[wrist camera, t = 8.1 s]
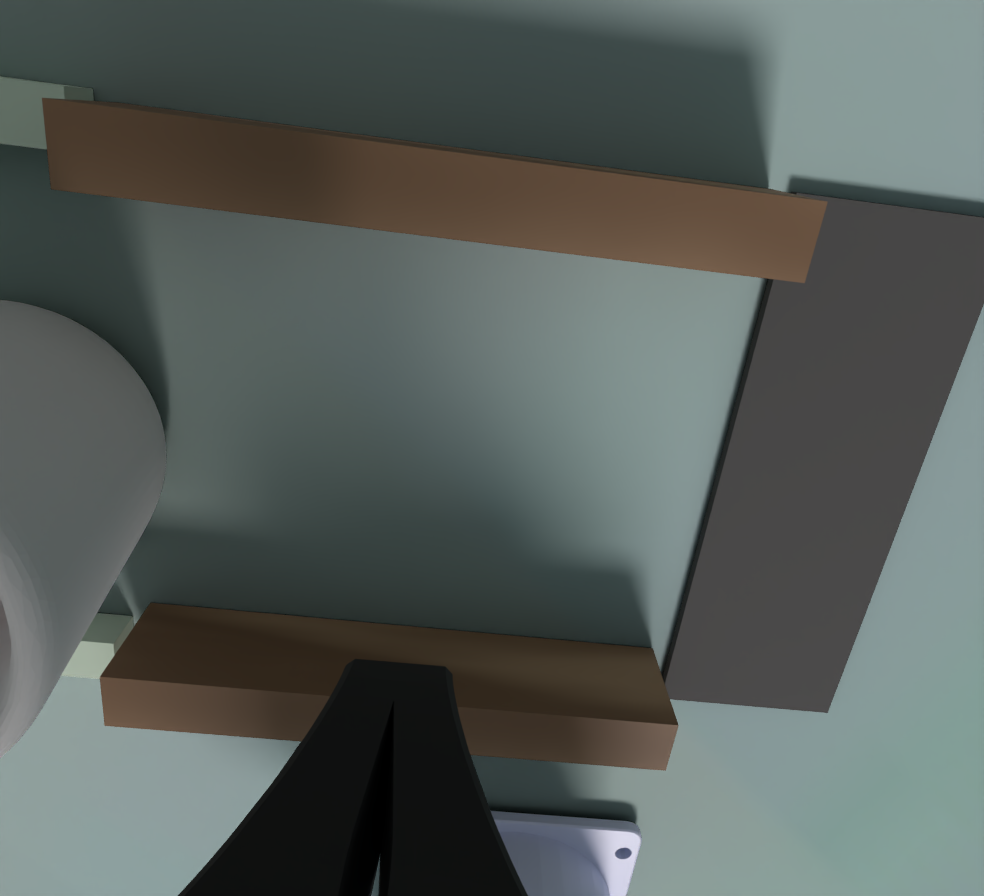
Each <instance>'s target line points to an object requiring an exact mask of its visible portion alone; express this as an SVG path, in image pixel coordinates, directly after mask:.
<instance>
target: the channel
mask: <svg viewBox="0 0 984 896" xmlns="http://www.w3.org/2000/svg"><path fill="white" fill-rule="evenodd" d="M42 105H43V115H44V125H45V135H46V145H47V155H48V165H49V175H50V185H51V189H53V190H61V191H69V192H77V193H85V194H93V195H101V196H109V197H117V198H125V199H133V200H141V201H149V202H157V203H165V204H173V205H181V206H189V207H197V208H205V209H213V210H221V211H229V212H238V213H246V214H254V215H262V216H270V217H278V218H286V219H294V220H302V221H310V222H318V223H326V224H334V225H342V226H350V227H358V228H366V229H374V230H382V231H390V232H398V233H406V234H414V235H422V236H430V237H438V238H446V239H454V240H462V241H470V242H478V243H486V244H494V245H502V246H510V247H518V248H526V249H534V250H543V251H551V252H559V253H567V254H575V255H583V256H591V257H599V258H607V259H615V260H623V261H631V262H639V263H647V264H655V265H663V266H671V267H679V268H687V269H695V270H703V271H711V272H719V273H727V274H735V275H743V276H751V277H759V278H767V279H775V280H783V281H791V282H799V283H805V280H806V277H807V273H808V270H809V266H810V263H811V259H812V256H813V252H814V248H815V245H816V241H817V238H818V234H819V231H820V227H821V224H822V220H823V217H824V213H825V210H826V206H827V203H828V202H827V201H823V200H818V199H814V198H809V197H804V196H800V195H795V194H791V193H786V192H782V191H777V190H772V189H767V188H759V187H752V186H744V185H736V184H729V183H721V182H714V181H706V180H699V179H691V178H684V177H676V176H669V175H661V174H654V173H646V172H638V171H631V170H623V169H616V168H608V167H601V166H593V165H586V164H578V163H571V162H563V161H556V160H548V159H540V158H533V157H525V156H518V155H510V154H503V153H495V152H488V151H480V150H473V149H465V148H457V147H450V146H442V145H435V144H427V143H420V142H412V141H405V140H397V139H390V138H382V137H375V136H367V135H359V134H352V133H344V132H337V131H329V130H322V129H314V128H307V127H299V126H292V125H284V124H277V123H269V122H261V121H254V120H246V119H239V118H231V117H224V116H216V115H209V114H201V113H194V112H186V111H178V110H171V109H163V108H156V107H148V106H141V105H133V104H126V103H118V102H102V101H86V100H70V99H54V98H42ZM354 659H364V660H376V661H388V662H400V663H412V664H424V665H435V666H446V668H447V669H448V670H449V671H450V672H451V673H452V674H453V686H454V692H455V698H456V703H457V708H458V712H459V716H460V721H461V724H462V728H463V731H464V735H465V739H466V742H467V746H468V749H469V752H470V755H478V756H490V757H503V758H515V759H528V760H540V761H553V762H565V763H578V764H590V765H603V766H615V767H628V768H640V769H653V770H665V771H666V767H667V764H668V760H669V757H670V753H671V750H672V746H673V743H674V739H675V736H676V732H677V729H678V722H677V719H676V717H675V714H674V711H673V708H672V705H671V702H670V699H669V696H668V693H667V690H666V687H665V684H664V681H663V678H662V675H661V672H660V669H659V666H658V663H657V660H656V657H655V654H654V651H653V648H644V647H633V646H622V645H611V644H600V643H589V642H578V641H567V640H556V639H545V638H534V637H523V636H512V635H501V634H490V633H479V632H468V631H457V630H446V629H435V628H424V627H413V626H402V625H391V624H380V623H368V622H357V621H346V620H335V619H324V618H313V617H302V616H291V615H280V614H269V613H258V612H247V611H236V610H225V609H214V608H203V607H192V606H181V605H170V604H159V603H150V604H149V606H148V607H147V608H146V610H145V611H144V613H143V614H142V616H141V617H140V619H139V620H138V622H137V623H136V625H135V626H134V627H133V629H132V630H131V632H130V633H129V635H128V636H127V638H126V639H125V641H124V642H123V644H122V645H121V647H120V648H119V649H118V651H117V652H116V654H115V655H114V657H113V658H112V660H111V661H110V663H109V664H108V666H107V667H106V668H105V670H104V671H103V673H102V674H101V676H100V684H101V694H102V704H103V714H104V724H105V726H115V727H128V728H140V729H153V730H165V731H178V732H190V733H203V734H215V735H228V736H240V737H253V738H265V739H278V740H290V741H302V740H303V739H304V737H305V736H306V734H307V733H308V731H309V730H310V728H311V727H312V725H313V724H314V722H315V720H316V719H317V717H318V716H319V714H320V712H321V711H322V709H323V708H324V706H325V704H326V703H327V701H328V699H329V697H330V696H331V694H332V692H333V690H334V689H335V687H336V685H337V683H338V681H339V679H340V677H341V675H342V673H343V671H344V668H345V666H346V665H347V664H348V663H350V662H351V661H352V660H354Z"/></svg>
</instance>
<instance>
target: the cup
mask: <svg viewBox="0 0 984 896" xmlns="http://www.w3.org/2000/svg"><path fill="white" fill-rule="evenodd" d="M166 459H167V453H166V440H165V435H164V429H163V425H162V421H161V417H160V415H159V412H158V409H157V407H156V404H155V402H154V400H153V398H152V396H151V394H150V392H149V390H148V389H147V387H146V385H145V384H144V382H143V381H142V379H141V378H140V377H139V375H138V374H137V372H136V371H135V370H134V368H133V367H132V366H131V365H130V364H129V363H128V362H127V360H126V359H125V358H124V357H123V356H122V355H121V354H120V353H119V352H118V351H117V350H115V349H114V348H113V347H112V346H111V345H110V344H109V343H107V342H106V341H105V340H104V339H102V338H101V337H99V336H98V335H97V334H95V333H94V332H92V331H91V330H89V329H87V328H86V327H84V326H82V325H81V324H79V323H77V322H75V321H73V320H71V319H69V318H67V317H65V316H63V315H60V314H58V313H55V312H53V311H50V310H47V309H43V308H40V307H37V306H33V305H29V304H25V303H20V302H14V301H7V300H0V758H1V757H2V756H3V755H5V754H6V753H7V752H8V751H9V750H10V749H11V748H12V747H13V746H14V745H15V744H16V743H17V742H18V741H19V740H20V738H21V737H22V736H23V735H24V733H25V732H26V731H27V730H28V728H29V727H30V726H31V725H32V723H33V722H34V720H35V719H36V717H37V716H38V714H39V713H40V711H41V709H42V708H43V706H44V704H45V703H46V701H47V699H48V697H49V696H50V694H51V692H52V690H53V689H54V687H55V685H56V683H57V682H58V680H59V678H60V676H61V675H62V673H63V671H64V669H65V668H66V666H67V664H68V663H69V661H70V659H71V657H72V656H73V654H74V652H75V650H76V649H77V647H78V645H79V643H80V642H81V640H82V638H83V636H84V635H85V633H86V631H87V629H88V628H89V626H90V624H91V622H92V621H93V619H94V617H95V616H96V614H97V612H98V610H99V609H100V607H101V605H102V603H103V602H104V600H105V598H106V596H107V595H108V593H109V591H110V589H111V588H112V586H113V584H114V582H115V581H116V579H117V577H118V575H119V574H120V572H121V570H122V569H123V567H124V565H125V563H126V562H127V560H128V558H129V556H130V555H131V553H132V551H133V549H134V548H135V546H136V544H137V542H138V541H139V539H140V537H141V535H142V534H143V532H144V530H145V528H146V527H147V525H148V523H149V521H150V519H151V517H152V514H153V512H154V510H155V508H156V505H157V502H158V500H159V497H160V494H161V491H162V487H163V483H164V478H165V472H166Z"/></svg>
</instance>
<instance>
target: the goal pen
mask: <svg viewBox="0 0 984 896" xmlns="http://www.w3.org/2000/svg"><path fill="white" fill-rule="evenodd" d="M42 98H54V99H70V100H86V101H94V97H93V89H92V88H84V87H77V86H69V85H62V84H54V83H47V82H39V81H32V80H24V79H17V78H9V77H2V76H0V144H7V145H15V146H23V147H30V148H38V149H46V150H47V145H46V135H45V125H44V115H43V105H42ZM133 627H134V625H133V616H125V615H114V614H103V613H97V614H96V616H95V617H94V619H93V621H92V622H91V624H90V626H89V628H88V629H87V631H86V633H85V635H84V636H83V638H82V640H81V642H80V643H79V645H78V647H77V649H76V650H75V652H74V654H73V656H72V657H71V659H70V661H69V663H68V664H67V666H66V668H65V669H64V671H63V673H62V675H61V676H70V677H82V678H94V679H100V676H101V674H102V673H103V671H104V670H105V668H106V667H107V666H108V664H109V663H110V661H111V660H112V658H113V657H114V655H115V654H116V652H117V651H118V649H119V648H120V647H121V645H122V644H123V642H124V641H125V639H126V638H127V636H128V635H129V633H130V632H131V630H132V629H133Z"/></svg>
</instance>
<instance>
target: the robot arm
mask: <svg viewBox="0 0 984 896" xmlns="http://www.w3.org/2000/svg"><path fill="white" fill-rule="evenodd" d="M641 842H642V837H641V833H640V829H639V827H638V826H637V825H636V824H634V823H633V822H629V821H619V820H606V819H592V818H579V817H566V816H552V815H539V814H526V813H513V812H499V811H490V808H489V806H488V803H487V801H486V798H485V795H484V792H483V789H482V787H481V784H480V781H479V778H478V775H477V773H476V770H475V767H474V764H473V761H472V758H471V755H470V752H469V749H468V746H467V742H466V739H465V735H464V731H463V728H462V724H461V721H460V716H459V712H458V708H457V703H456V698H455V692H454V686H453V674H452V673H451V672H450V671H449V670H448V669H447V668H446V666H435V665H424V664H412V663H400V662H388V661H376V660H364V659H354V660H352V661H351V662H350V663H348V664H347V665H346V666H345V668H344V671H343V673H342V675H341V677H340V679H339V681H338V683H337V685H336V687H335V689H334V690H333V692H332V694H331V696H330V697H329V699H328V701H327V703H326V704H325V706H324V708H323V709H322V711H321V712H320V714H319V716H318V717H317V719H316V720H315V722H314V724H313V725H312V727H311V728H310V730H309V731H308V733H307V734H306V736H305V737H304V739H303V740H302V742H301V743H300V744H299V746H298V747H297V749H296V750H295V752H294V753H293V754H292V756H291V757H290V759H289V760H288V762H287V763H286V764H285V766H284V767H283V769H282V770H281V772H280V773H279V774H278V776H277V777H276V779H275V780H274V781H273V783H272V784H271V785H270V787H269V788H268V789H267V790H266V792H265V793H264V794H263V796H262V797H261V798H260V799H259V801H258V802H257V803H256V804H255V806H254V807H253V808H252V809H251V811H250V812H249V813H248V814H247V816H246V817H245V818H244V820H243V821H242V822H241V823H240V825H239V826H238V827H237V828H236V830H235V831H234V832H233V833H232V835H231V836H230V837H229V838H228V840H227V841H226V842H225V843H224V844H223V845H222V847H221V848H220V849H219V850H218V851H217V852H216V854H215V855H214V856H213V857H212V858H211V859H210V861H209V862H208V863H207V864H206V865H205V866H204V867H203V869H202V870H201V871H200V872H199V873H198V874H197V875H196V877H195V878H194V879H193V880H192V881H191V882H190V883H189V884H188V885H187V886H186V887H185V889H184V890H183V891H182V892H181V893H180V894H179V895H178V896H371V894H372V889H373V885H374V880H375V876H376V871H377V866H378V862H379V857H380V876H379V896H626V895H627V892H628V888H629V885H630V881H631V878H632V874H633V871H634V867H635V864H636V860H637V857H638V853H639V849H640V846H641Z"/></svg>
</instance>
